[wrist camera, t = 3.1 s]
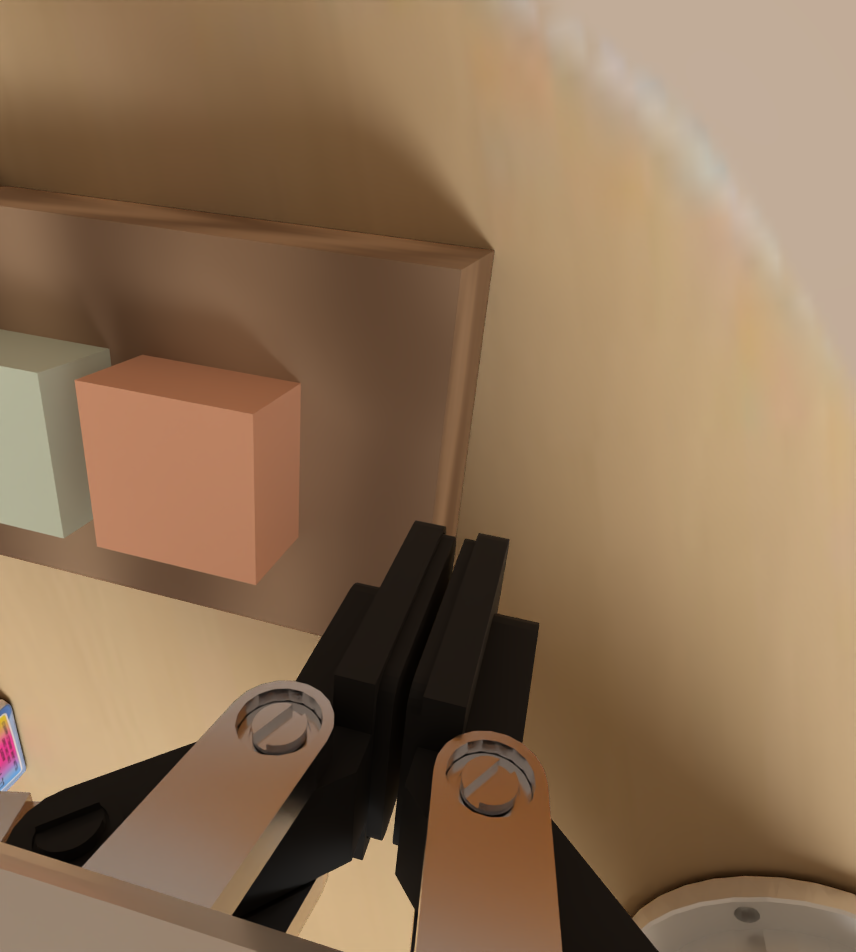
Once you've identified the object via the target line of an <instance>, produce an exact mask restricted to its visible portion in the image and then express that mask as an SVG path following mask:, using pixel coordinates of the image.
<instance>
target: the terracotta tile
mask: <svg viewBox="0 0 856 952" xmlns="http://www.w3.org/2000/svg"><path fill="white" fill-rule="evenodd" d="M74 381H75V388H76V396H77V403H78V410H79V418H80V425H81V432H82V440H83V447H84V454H85V462H86V469H87V476H88V484H89V491H90V498H91V506H92V513H93V521H94V528H95V535H96V543H97V547H101V548H105V549H109V550H113V551H117V552H121V553H125V554H130V555H134V556H138V557H142V558H146V559H150V560H154V561H158V562H162V563H167V564H171V565H175V566H179V567H183V568H187V569H191V570H195V571H199V572H204V573H208V574H212V575H216V576H220V577H224V578H228V579H232V580H236V581H240V582H245V583H249V584H253V585H257V583H258V582H259V581H260V580H261V579H262V578H263V577H264V575H265V574H266V573H267V572H268V571H269V570H270V569H271V568H272V566H273V565H274V564H275V563H276V562H277V561H278V560H279V559H280V557H281V556H282V555H283V554H284V553H285V552H286V551H287V549H288V548H289V547H290V546H291V545H292V544H293V543H294V542H295V540H296V539H297V538H298V535H299V472H300V409H301V383H297V382H292V381H286V380H281V379H275V378H269V377H264V376H258V375H253V374H247V373H242V372H236V371H230V370H225V369H219V368H214V367H208V366H203V365H197V364H191V363H186V362H180V361H175V360H169V359H164V358H158V357H152V356H147V355H140V356H138V357H135V358H132V359H130V360H127V361H124V362H122V363H119V364H116V365H114V366H111V367H108V368H106V369H103V370H100V371H97V372H95V373H92V374H89V375H87V376H84V377H81V378H79V379H76V380H74Z"/></svg>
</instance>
